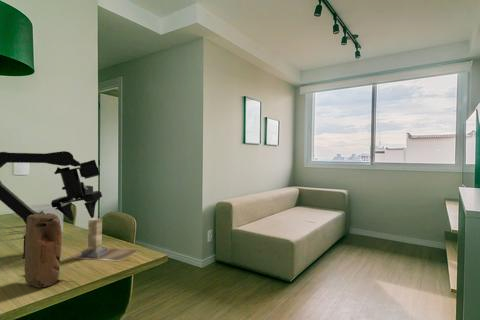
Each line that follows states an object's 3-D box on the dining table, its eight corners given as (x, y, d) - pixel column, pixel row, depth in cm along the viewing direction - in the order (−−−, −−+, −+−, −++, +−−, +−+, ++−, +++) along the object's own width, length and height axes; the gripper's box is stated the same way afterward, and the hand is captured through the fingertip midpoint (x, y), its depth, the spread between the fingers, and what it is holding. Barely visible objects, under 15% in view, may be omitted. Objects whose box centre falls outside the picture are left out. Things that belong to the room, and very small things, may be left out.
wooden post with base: (81, 257, 98) (82, 220, 98) (92, 251, 104) (93, 217, 104) (97, 258, 97) (98, 221, 97) (107, 252, 103) (107, 218, 103)
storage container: (62, 233, 132) (63, 210, 132) (34, 237, 125) (35, 213, 125) (52, 223, 151) (53, 203, 150) (27, 226, 143) (28, 205, 143)
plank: (67, 262, 97) (67, 257, 97) (89, 250, 109) (89, 246, 109) (121, 265, 95) (121, 261, 95) (137, 253, 107) (137, 249, 107)
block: (22, 280, 82) (23, 214, 82) (51, 272, 88) (52, 210, 88) (33, 292, 75) (34, 220, 75) (64, 283, 81) (65, 215, 81)
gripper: (105, 174, 115) (114, 209, 118) (66, 181, 118) (76, 215, 120) (87, 180, 104) (98, 218, 107) (45, 187, 107) (56, 225, 109)
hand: (82, 219), depth 111 cm, fingers open, 9 cm apart
